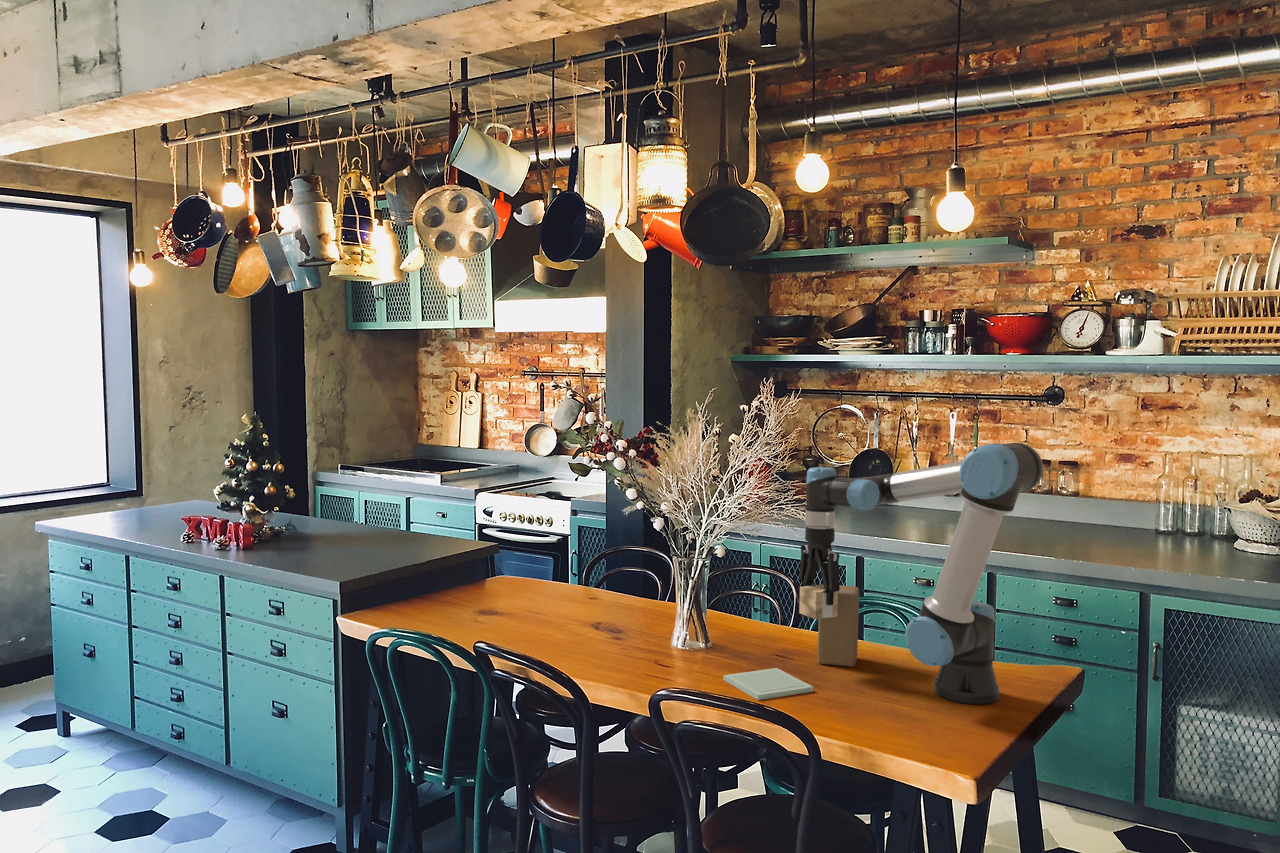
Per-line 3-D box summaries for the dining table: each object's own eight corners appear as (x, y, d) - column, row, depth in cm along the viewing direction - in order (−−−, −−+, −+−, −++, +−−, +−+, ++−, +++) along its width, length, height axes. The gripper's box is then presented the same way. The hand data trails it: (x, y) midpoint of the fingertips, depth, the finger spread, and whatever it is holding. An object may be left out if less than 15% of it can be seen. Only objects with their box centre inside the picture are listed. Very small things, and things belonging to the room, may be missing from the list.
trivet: (813, 691, 230) (813, 686, 230) (757, 700, 223) (757, 694, 223) (776, 672, 244) (776, 667, 244) (723, 679, 238) (723, 675, 238)
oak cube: (837, 616, 245) (837, 590, 245) (815, 619, 242) (816, 592, 241) (820, 610, 251) (821, 584, 251) (799, 613, 248) (799, 586, 248)
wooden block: (857, 657, 259) (859, 586, 258) (855, 668, 249) (857, 593, 248) (820, 654, 262) (822, 583, 261) (816, 664, 252) (819, 590, 251)
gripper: (856, 531, 238) (853, 621, 239) (809, 520, 256) (807, 604, 257) (831, 533, 235) (829, 623, 236) (786, 522, 253) (784, 606, 254)
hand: (818, 613), depth 246 cm, fingers closed on oak cube, 7 cm apart
